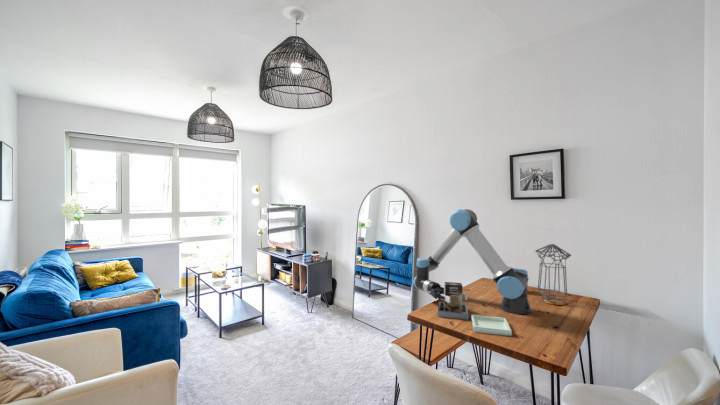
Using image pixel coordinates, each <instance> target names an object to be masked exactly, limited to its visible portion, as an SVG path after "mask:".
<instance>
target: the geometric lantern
mask: <svg viewBox="0 0 720 405" xmlns="http://www.w3.org/2000/svg"><path fill="white" fill-rule="evenodd" d="M534 252H536V253H537V255H538V258H540V260H541V261H540V262H539V270H538V280H537V282H538V283H537V292H538V293H539V294H540V295H541V299H542V298H543V299H544V298H545V299H547V301H548V300H549V301H550V300H557V298H558V299H559V300H560V301H561V300H562V301H563V299H564V298H567V297H568V286H567V285H568V284H567V267H566V265H567V264H566V260H568V259H569V258H571V257H572V254H571V253H569V252H567V251H566V250H564V249H563V248H561V247H559V246H558V245H556V244H554V243H549V244H547V245H545V246H543V247H541V248H538V249H535V250H534ZM551 253H552V254H551ZM556 253H557V255H555V254H556ZM542 255H543V256H542ZM546 257H548V258H551V259H552V260H553V262H552V263H550V262H548V263H545V258H546ZM556 258H559V259H556ZM562 260H564V264H563V263H562ZM557 262H558V263H557ZM548 265H549V266H548ZM552 265H554V266H552ZM543 267H545V272H544V285H543V286H544V288H543V289H542V288H541V284H542V274H543ZM547 268H548V288H546V284H547V281H546V280H547ZM552 268H554V283H553V286H554V287H553V289H552V291H553V293H552V294H551V289H550V288H551V287H550V286H551V284H550V282H551V281H550V279H551V277H550V274H551V273H550V270H551V269H552ZM560 269H562V273H563V276H562V277H563V289H564V291H563V292H564V293H563V292H562V291H561V290H560V288H561V287H560V286H561V285H560V283H561V282H560ZM557 270H558V271H557ZM557 273H558V274H557ZM556 275H558V277H556ZM556 278H558V290H557V289H556ZM542 291H543V292H542ZM546 291H548V294H547V293H546ZM555 292H556V293H555ZM554 293H555V294H554ZM558 293H561V294H562V295H558ZM556 297H557V298H556Z"/></svg>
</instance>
